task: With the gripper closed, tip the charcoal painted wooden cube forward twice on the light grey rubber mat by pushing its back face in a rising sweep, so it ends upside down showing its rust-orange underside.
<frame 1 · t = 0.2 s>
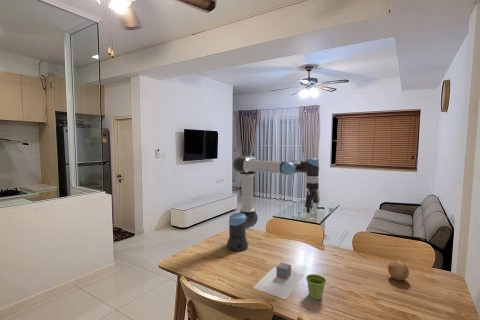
hand: (311, 215, 162), 28 cm above the table, fingers open, 13 cm apart
onion: (397, 279, 137), on the table
plant pot: (315, 296, 121), on the table
flip cube: (283, 276, 139), resting on grip mat
grip mat: (279, 282, 134), on the table
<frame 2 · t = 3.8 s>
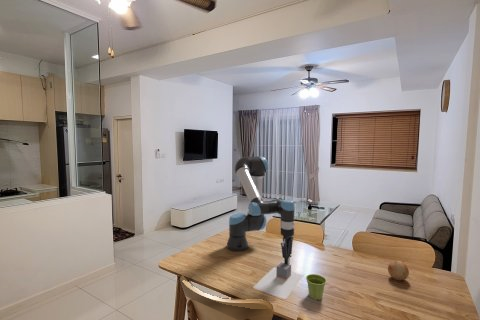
hand: (286, 268, 142), 3 cm above the table, fingers closed
flip cube: (283, 276, 139), resting on grip mat, touching gripper
everything else where it was.
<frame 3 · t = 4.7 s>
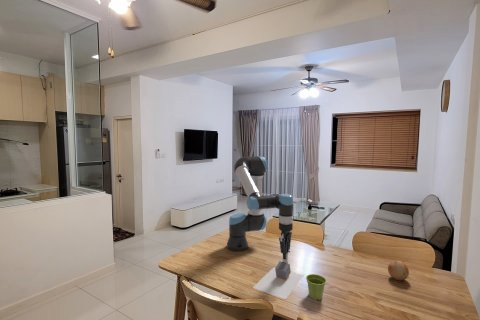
hand: (285, 263, 140), 7 cm above the table, fingers closed
flip cube: (283, 274, 139), point 1 cm above the table, tilted 18°, touching grip mat, gripper
everything else where it was.
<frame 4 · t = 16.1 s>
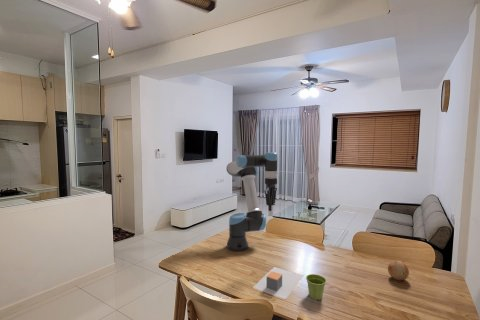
hand: (270, 215, 155), 29 cm above the table, fingers closed
flip cube: (274, 275, 128), point 6 cm above the table, tilted 180°, touching grip mat
everything else where it was.
at the end: flip cube tilted 180°; flip cube inside the target area (0.5 cm from its centre), point 6.4 cm above the table; the gripper is holding nothing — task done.
